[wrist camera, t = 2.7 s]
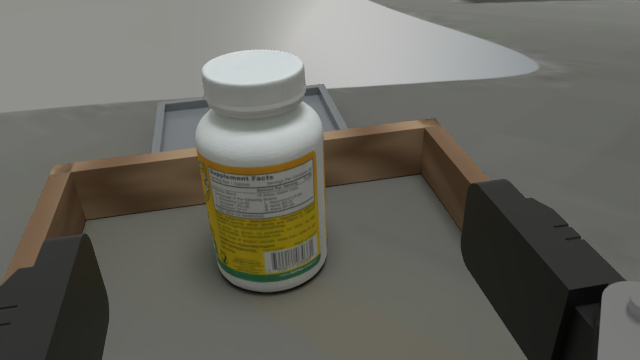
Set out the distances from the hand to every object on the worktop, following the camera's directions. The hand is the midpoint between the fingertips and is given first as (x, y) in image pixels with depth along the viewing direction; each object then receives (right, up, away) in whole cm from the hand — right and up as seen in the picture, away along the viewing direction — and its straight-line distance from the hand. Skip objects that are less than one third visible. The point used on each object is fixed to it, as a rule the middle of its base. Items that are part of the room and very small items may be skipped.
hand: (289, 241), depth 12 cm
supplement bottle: (-2, -3, +15) cm, 15 cm away
